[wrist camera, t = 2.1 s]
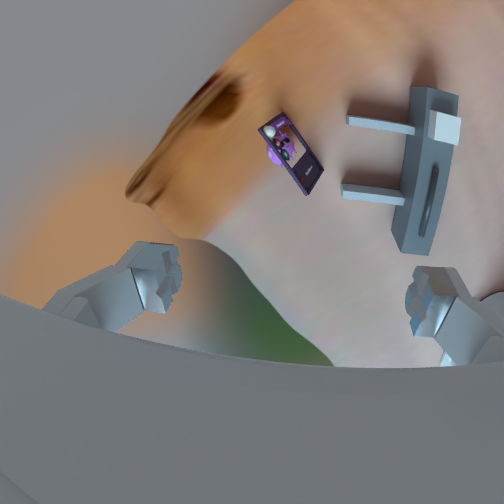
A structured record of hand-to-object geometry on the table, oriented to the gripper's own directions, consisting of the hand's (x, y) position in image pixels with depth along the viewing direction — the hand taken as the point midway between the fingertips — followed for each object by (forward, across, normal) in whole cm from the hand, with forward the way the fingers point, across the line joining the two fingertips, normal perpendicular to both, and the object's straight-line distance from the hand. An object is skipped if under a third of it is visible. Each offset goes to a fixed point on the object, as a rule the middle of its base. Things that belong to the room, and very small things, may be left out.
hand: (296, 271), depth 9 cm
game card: (+29, +2, +3) cm, 29 cm away
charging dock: (+28, -11, +3) cm, 31 cm away
